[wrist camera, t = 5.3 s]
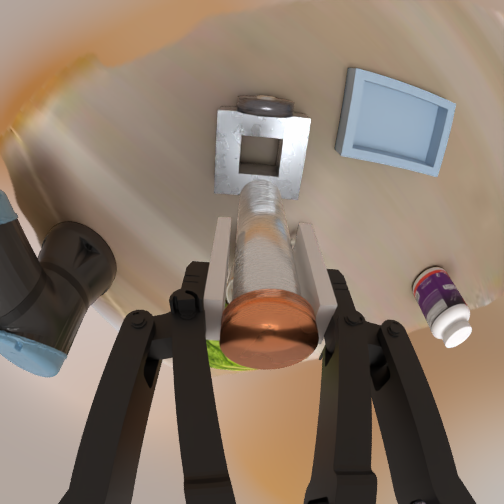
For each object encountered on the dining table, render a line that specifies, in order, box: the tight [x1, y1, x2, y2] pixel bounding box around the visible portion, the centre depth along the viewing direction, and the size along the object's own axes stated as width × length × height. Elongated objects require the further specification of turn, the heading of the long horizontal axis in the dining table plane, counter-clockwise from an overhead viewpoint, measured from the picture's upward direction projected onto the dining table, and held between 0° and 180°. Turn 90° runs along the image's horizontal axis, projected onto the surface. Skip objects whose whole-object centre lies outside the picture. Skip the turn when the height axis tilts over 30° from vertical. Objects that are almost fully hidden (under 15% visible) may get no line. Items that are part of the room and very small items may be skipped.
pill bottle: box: [413, 267, 472, 348], centre depth 41 cm, size 8×8×14 cm
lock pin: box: [219, 179, 319, 369], centre depth 16 cm, size 4×4×13 cm
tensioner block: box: [214, 95, 311, 200], centre depth 31 cm, size 10×12×6 cm
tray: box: [335, 68, 456, 177], centre depth 29 cm, size 15×11×3 cm
